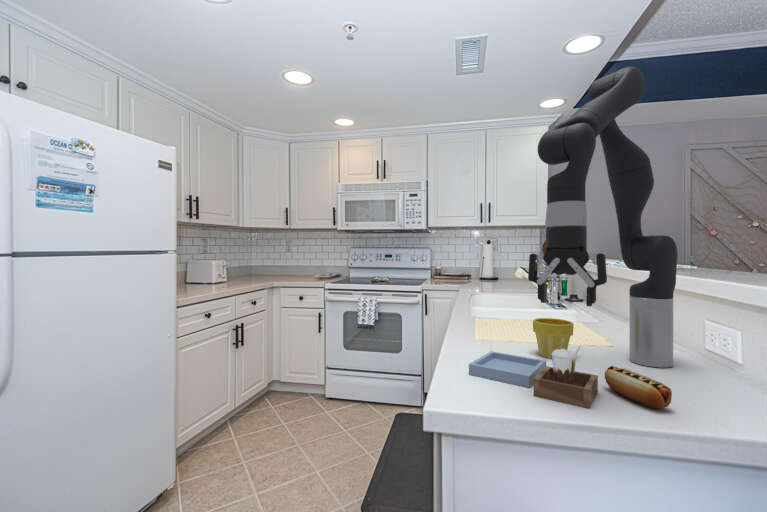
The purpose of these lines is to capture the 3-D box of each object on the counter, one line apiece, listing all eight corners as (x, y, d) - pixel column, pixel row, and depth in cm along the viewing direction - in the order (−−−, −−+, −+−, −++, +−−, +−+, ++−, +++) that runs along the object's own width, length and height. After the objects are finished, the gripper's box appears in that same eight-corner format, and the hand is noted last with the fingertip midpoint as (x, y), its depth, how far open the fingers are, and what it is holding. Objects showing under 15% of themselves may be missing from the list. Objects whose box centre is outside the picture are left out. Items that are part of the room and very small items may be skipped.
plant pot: (575, 353, 103) (575, 319, 103) (571, 363, 95) (571, 325, 95) (536, 348, 109) (536, 316, 109) (529, 357, 100) (529, 322, 100)
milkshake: (583, 399, 71) (584, 349, 71) (554, 397, 73) (554, 347, 72) (576, 390, 76) (576, 343, 76) (549, 388, 77) (549, 342, 77)
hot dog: (654, 415, 65) (654, 387, 64) (597, 388, 78) (597, 365, 78) (677, 413, 65) (677, 385, 65) (618, 386, 78) (617, 363, 78)
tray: (491, 360, 97) (491, 351, 97) (546, 370, 89) (546, 360, 89) (468, 374, 86) (468, 364, 86) (529, 387, 78) (529, 376, 78)
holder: (546, 381, 81) (546, 366, 81) (597, 392, 75) (597, 375, 75) (533, 395, 73) (533, 378, 73) (589, 408, 67) (589, 390, 67)
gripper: (608, 224, 72) (608, 305, 73) (534, 227, 81) (534, 299, 81) (603, 222, 67) (603, 309, 67) (524, 225, 75) (524, 303, 76)
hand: (565, 304), depth 74 cm, fingers open, 8 cm apart
